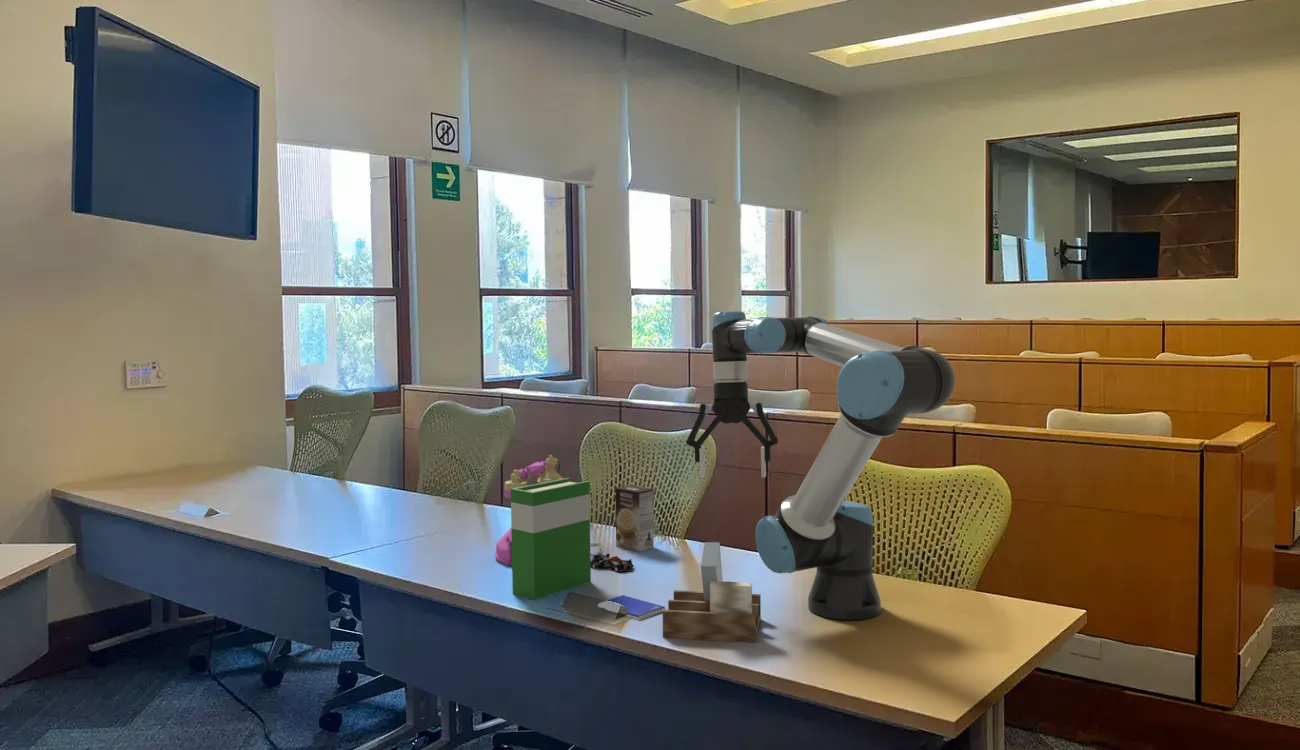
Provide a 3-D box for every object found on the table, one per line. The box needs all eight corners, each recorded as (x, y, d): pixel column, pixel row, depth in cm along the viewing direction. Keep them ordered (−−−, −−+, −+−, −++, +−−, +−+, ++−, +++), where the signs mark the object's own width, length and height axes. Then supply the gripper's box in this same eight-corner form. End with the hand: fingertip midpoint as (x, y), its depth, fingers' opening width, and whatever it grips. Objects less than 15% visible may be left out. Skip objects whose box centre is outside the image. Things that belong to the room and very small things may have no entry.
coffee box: (614, 546, 256) (613, 487, 255) (630, 541, 261) (630, 484, 260) (638, 551, 250) (638, 491, 249) (655, 547, 255) (654, 488, 254)
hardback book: (568, 576, 227) (567, 477, 226) (590, 582, 223) (589, 481, 221) (512, 593, 214) (510, 488, 213) (534, 600, 209) (532, 492, 208)
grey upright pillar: (723, 586, 197) (719, 542, 191) (719, 610, 191) (715, 566, 185) (708, 585, 198) (704, 542, 191) (705, 610, 192) (700, 565, 186)
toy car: (600, 563, 240) (599, 547, 240) (640, 569, 234) (639, 553, 234) (586, 568, 235) (585, 552, 235) (626, 575, 229) (626, 558, 229)
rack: (760, 619, 195) (760, 570, 194) (755, 642, 181) (754, 590, 181) (674, 614, 199) (674, 566, 198) (662, 637, 185) (662, 585, 184)
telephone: (549, 572, 231) (548, 471, 229) (468, 565, 238) (466, 467, 236) (604, 538, 264) (603, 450, 263) (531, 533, 272) (529, 447, 270)
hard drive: (665, 605, 201) (624, 594, 210) (638, 615, 195) (597, 602, 204) (665, 613, 201) (624, 601, 210) (638, 622, 195) (597, 609, 204)
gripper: (788, 379, 211) (790, 474, 211) (678, 382, 216) (680, 475, 216) (786, 380, 204) (788, 478, 204) (672, 383, 209) (674, 479, 209)
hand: (733, 477), depth 210 cm, fingers open, 13 cm apart
